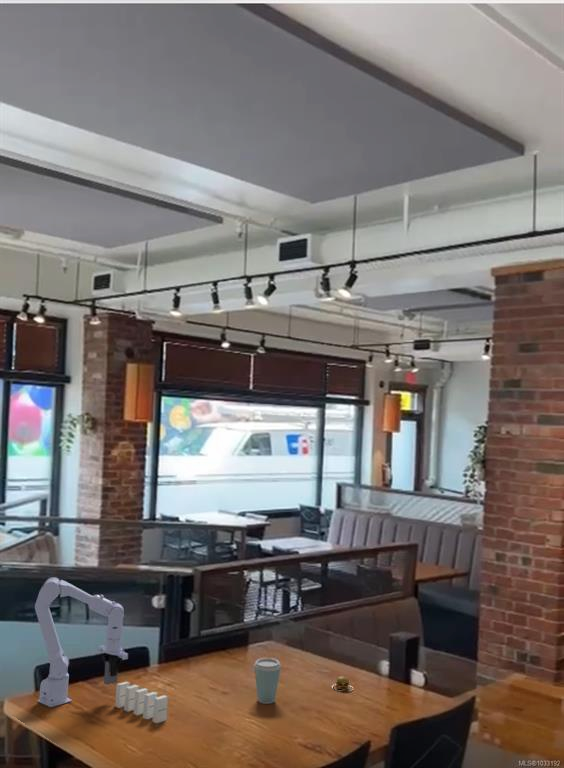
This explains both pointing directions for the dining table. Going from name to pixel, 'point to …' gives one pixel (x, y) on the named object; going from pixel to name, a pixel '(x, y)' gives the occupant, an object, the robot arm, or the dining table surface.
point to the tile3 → (130, 697)
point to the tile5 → (149, 705)
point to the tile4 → (139, 701)
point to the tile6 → (160, 709)
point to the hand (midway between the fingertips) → (111, 675)
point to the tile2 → (121, 694)
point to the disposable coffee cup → (267, 679)
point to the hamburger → (342, 683)
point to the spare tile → (109, 674)
